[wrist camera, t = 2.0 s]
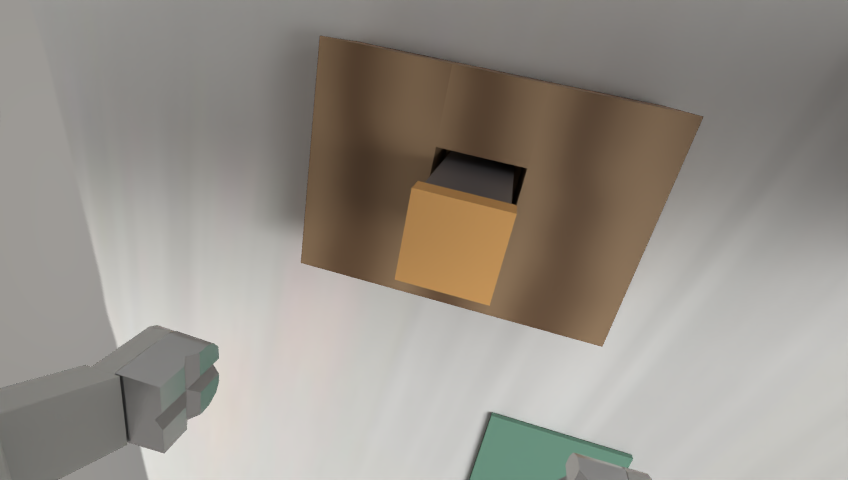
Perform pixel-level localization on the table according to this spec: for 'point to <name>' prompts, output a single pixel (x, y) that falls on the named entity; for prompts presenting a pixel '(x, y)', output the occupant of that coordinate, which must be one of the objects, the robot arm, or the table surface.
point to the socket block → (500, 141)
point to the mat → (532, 452)
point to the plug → (459, 228)
